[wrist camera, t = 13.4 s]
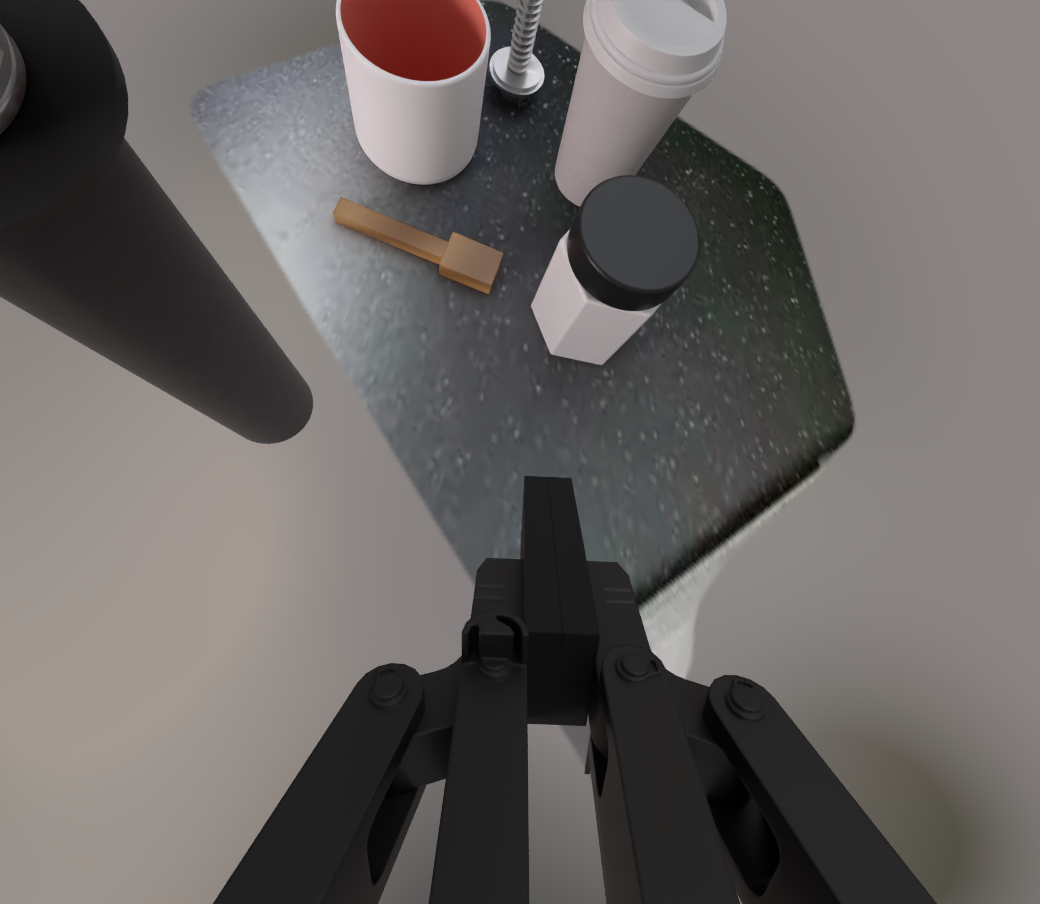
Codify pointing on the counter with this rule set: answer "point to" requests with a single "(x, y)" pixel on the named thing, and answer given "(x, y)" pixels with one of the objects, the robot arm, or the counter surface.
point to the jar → (615, 267)
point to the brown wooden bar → (427, 245)
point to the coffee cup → (634, 84)
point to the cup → (415, 82)
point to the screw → (519, 57)
